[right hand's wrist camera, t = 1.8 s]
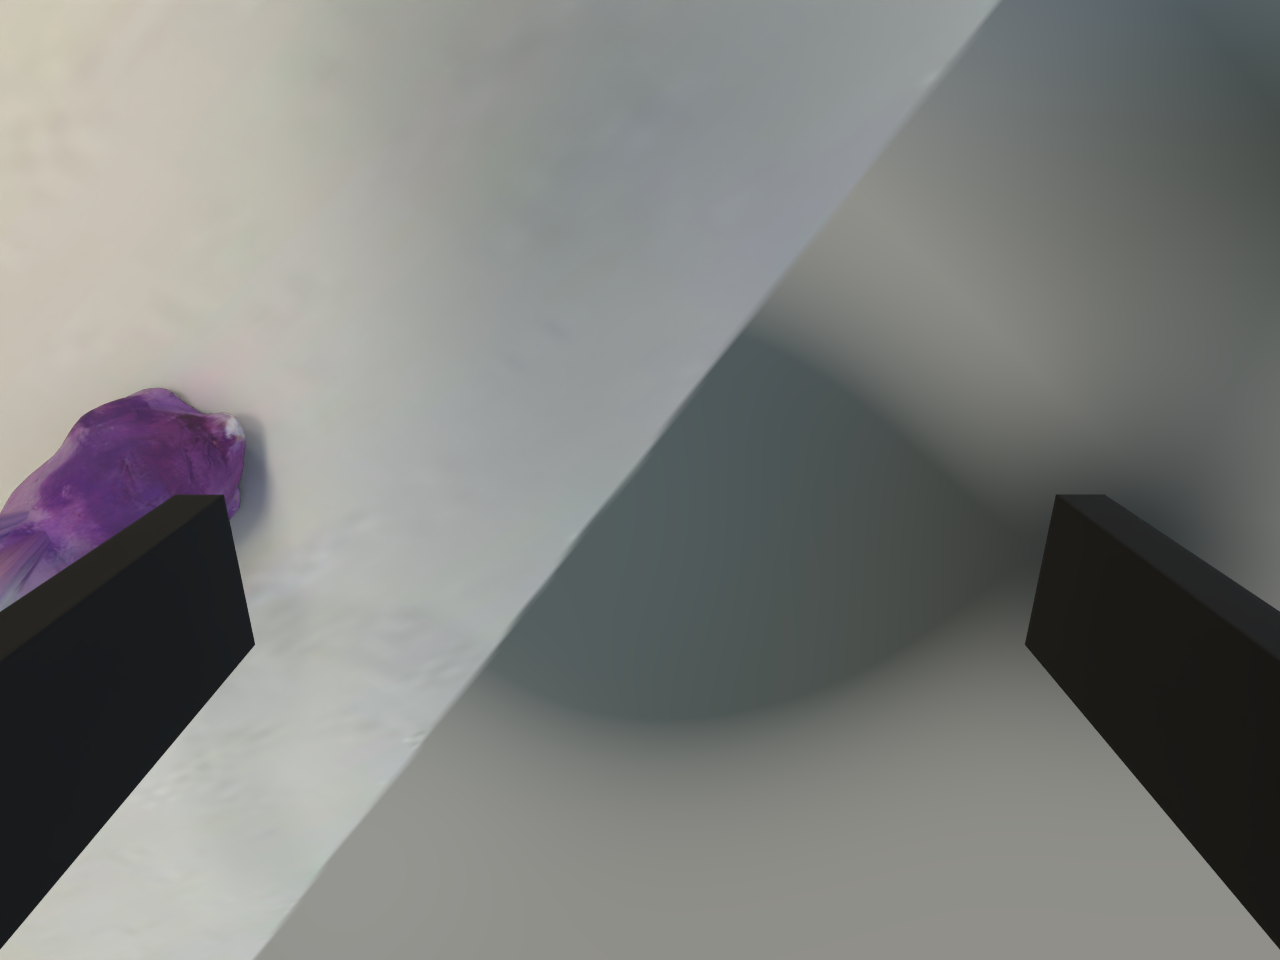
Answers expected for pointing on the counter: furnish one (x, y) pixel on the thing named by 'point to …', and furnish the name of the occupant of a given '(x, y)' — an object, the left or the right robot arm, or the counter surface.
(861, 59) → the counter surface
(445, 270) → the counter surface
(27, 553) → the figurine
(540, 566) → the counter surface
